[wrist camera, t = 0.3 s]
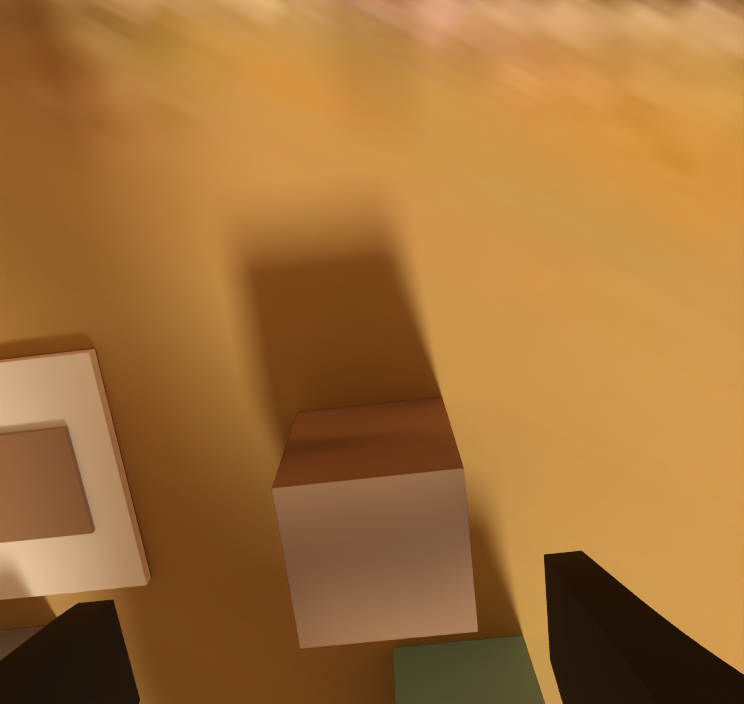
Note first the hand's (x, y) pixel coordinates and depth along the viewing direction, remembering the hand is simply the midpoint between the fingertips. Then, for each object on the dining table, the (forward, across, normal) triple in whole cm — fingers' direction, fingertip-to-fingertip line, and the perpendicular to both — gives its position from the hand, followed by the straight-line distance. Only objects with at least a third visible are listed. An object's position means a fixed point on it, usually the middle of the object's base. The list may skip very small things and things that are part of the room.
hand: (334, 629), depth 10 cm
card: (+9, +10, +1) cm, 14 cm away
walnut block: (+10, 0, +2) cm, 10 cm away
